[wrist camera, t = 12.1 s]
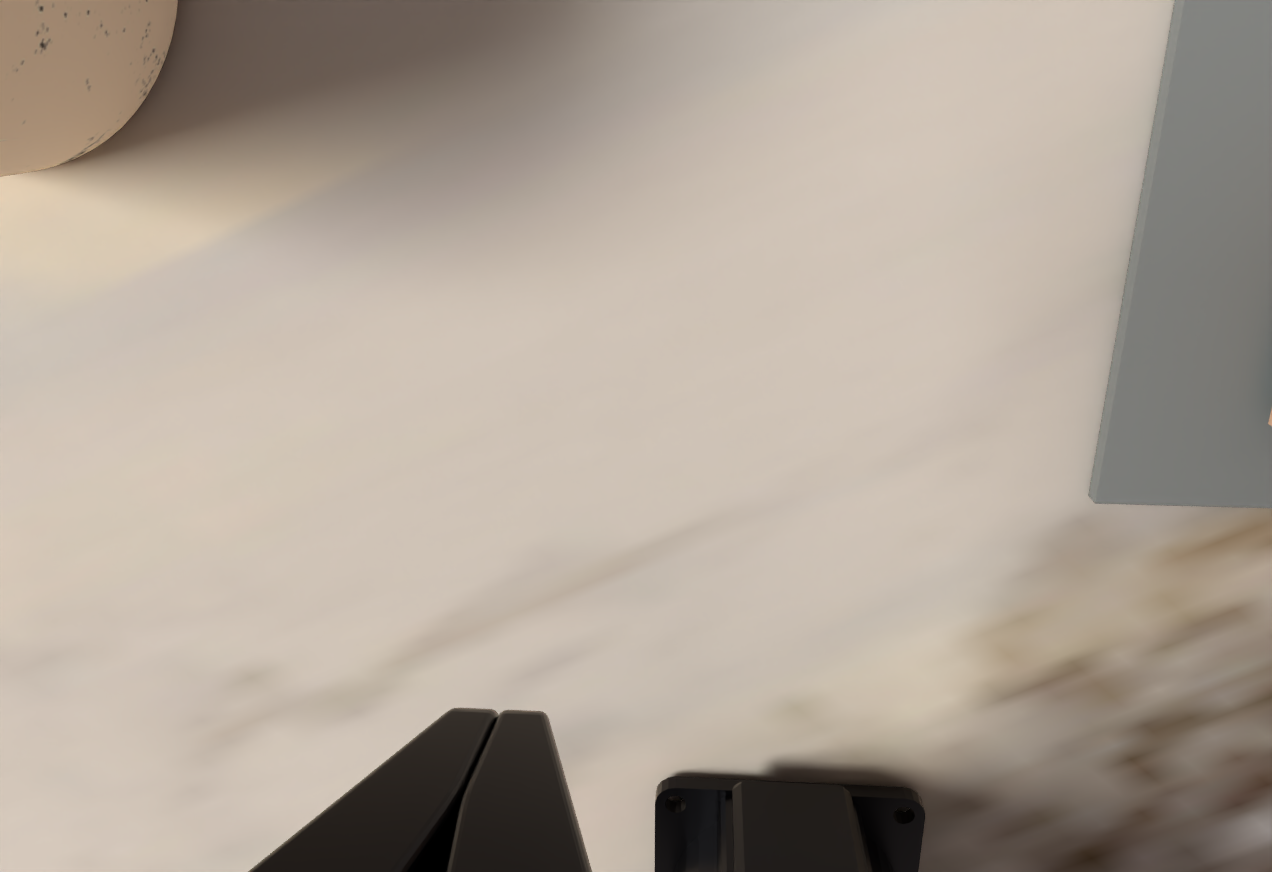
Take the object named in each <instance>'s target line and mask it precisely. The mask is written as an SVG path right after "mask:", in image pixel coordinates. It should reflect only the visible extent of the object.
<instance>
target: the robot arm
mask: <svg viewBox="0 0 1272 872" xmlns="http://www.w3.org/2000/svg"><path fill="white" fill-rule="evenodd" d="M672 796H678V797H681V798H683V800H682V801H677V802H676V801H672V800H670V799H669V797H672ZM900 807H908V808H910V809H908V810H907V811H905V812H897V811H895V810H897V809H898V808H900ZM924 821H925V812H924V807H923V804H922V800H921V798H920V796H919V795H918V793H917V792H915V791H913V790H912V789H909V788H904V787H887V786H865V785H843V784H822V783H800V782H779V781H757V780H735V779H714V778H692V777H670V778H667V779H665V780H663V781H662V782H661V783H660V784H659V785H658V787H657V791H656V800H655V872H918V868H919V860H920V853H921V845H922V837H923V829H924ZM248 872H592V870H591V867H590V863H589V860H588V856H587V853H586V849H585V845H584V842H583V838H582V835H581V831H580V828H579V824H578V821H577V817H576V814H575V810H574V807H573V803H572V800H571V796H570V792H569V789H568V785H567V782H566V778H565V775H564V771H563V768H562V764H561V761H560V757H559V754H558V750H557V747H556V743H555V740H554V736H553V732H552V729H551V725H550V722H549V718H548V716H547V715H546V714H545V713H544V712H541V711H523V710H505V711H503V712H501V713H500V714H499V715H498V713H497V712H496V711H495V710H492V709H476V708H454V709H451V710H449V711H448V712H446V713H445V714H444V715H442V716H441V717H440V718H439V719H438V720H436V721H435V722H434V723H433V724H431V725H430V726H429V727H428V728H426V729H425V730H424V731H423V732H421V733H420V734H419V735H418V736H416V737H415V738H414V739H413V740H411V741H410V742H409V743H408V744H406V745H405V746H404V747H403V748H401V749H400V750H399V751H398V752H396V753H395V754H394V755H393V756H391V757H390V758H389V759H388V760H386V761H385V762H384V763H383V764H382V765H380V766H379V767H378V768H377V769H375V770H374V771H373V772H372V773H370V774H369V775H368V776H367V777H365V778H364V779H363V780H362V781H360V782H359V783H358V784H357V785H355V786H354V787H353V788H352V789H350V790H349V791H348V792H347V793H345V794H344V795H343V796H342V797H340V798H339V799H338V800H337V801H335V802H334V803H333V804H332V805H331V806H329V807H328V808H327V809H326V810H324V811H323V812H322V813H321V814H319V815H318V816H317V817H316V818H314V819H313V820H312V821H311V822H309V823H308V824H307V825H306V826H304V827H303V828H302V829H301V830H299V831H298V832H297V833H296V834H294V835H293V836H292V837H291V838H289V839H288V840H287V841H286V842H284V843H283V844H282V845H281V846H280V847H278V848H277V849H276V850H275V851H273V852H272V853H271V854H270V855H268V856H267V857H266V858H265V859H263V860H262V861H261V862H260V863H258V864H257V865H256V866H255V867H253V868H252V869H251V870H250V871H248Z"/></svg>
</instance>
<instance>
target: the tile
mask: <svg viewBox="0 0 1272 872" xmlns="http://www.w3.org/2000/svg"><path fill="white" fill-rule="evenodd" d="M1268 424H1269V425H1270V426H1272V409H1271V413H1270V418H1269V422H1268Z"/></svg>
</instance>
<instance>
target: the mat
mask: <svg viewBox="0 0 1272 872" xmlns="http://www.w3.org/2000/svg"><path fill="white" fill-rule="evenodd" d="M1271 409H1272V0H1175V3H1174V8H1173V14H1172V20H1171V25H1170V31H1169V37H1168V43H1167V48H1166V54H1165V60H1164V66H1163V71H1162V77H1161V83H1160V88H1159V94H1158V100H1157V106H1156V111H1155V117H1154V123H1153V129H1152V134H1151V140H1150V146H1149V152H1148V157H1147V163H1146V169H1145V174H1144V180H1143V186H1142V192H1141V197H1140V203H1139V209H1138V215H1137V220H1136V226H1135V232H1134V237H1133V243H1132V249H1131V255H1130V260H1129V266H1128V272H1127V278H1126V283H1125V289H1124V295H1123V300H1122V306H1121V312H1120V318H1119V323H1118V329H1117V335H1116V341H1115V346H1114V352H1113V358H1112V363H1111V369H1110V375H1109V381H1108V386H1107V392H1106V398H1105V404H1104V409H1103V415H1102V421H1101V426H1100V432H1099V438H1098V444H1097V449H1096V455H1095V461H1094V467H1093V472H1092V478H1091V484H1090V490H1089V495H1088V496H1089V497H1090V498H1091V499H1092V500H1093V502H1094V503H1097V504H1134V505H1171V506H1208V507H1245V508H1272V426H1270V425H1269V424H1268V422H1269V418H1270V413H1271Z"/></svg>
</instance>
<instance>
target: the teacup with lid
mask: <svg viewBox="0 0 1272 872" xmlns="http://www.w3.org/2000/svg"><path fill="white" fill-rule="evenodd" d="M177 5H178V0H0V177H2V176H8V175H14V174H21V173H27V172H33V171H38V170H42V169H46V168H51V167H54V166H57V165H60V164H63V163H65V162H68V161H71V160H73V159H76V158H78V157H80V156H81V155H83V154H85V153H87V152H89V151H91V150H93V149H94V148H96V147H97V146H99V145H100V144H102V143H103V142H105V141H106V140H108V139H109V138H110V137H111V136H112V135H114V134H115V133H116V132H117V131H118V130H119V129H121V128H122V127H123V126H124V124H125V123H126V122H127V121H128V120H129V119H130V118H131V117H132V116H133V115H134V114H135V112H136V111H137V109H138V108H139V107H140V105H141V104H142V103H143V101H144V100H145V98H146V97H147V95H148V93H149V92H150V90H151V88H152V86H153V85H154V83H155V81H156V79H157V77H158V75H159V73H160V70H161V68H162V66H163V63H164V61H165V59H166V56H167V52H168V49H169V46H170V43H171V39H172V35H173V30H174V25H175V20H176V15H177Z"/></svg>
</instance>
